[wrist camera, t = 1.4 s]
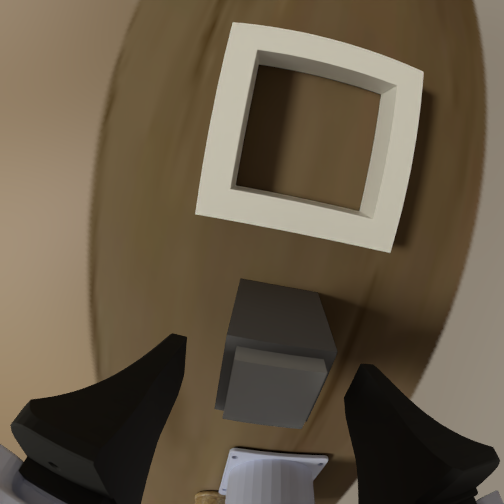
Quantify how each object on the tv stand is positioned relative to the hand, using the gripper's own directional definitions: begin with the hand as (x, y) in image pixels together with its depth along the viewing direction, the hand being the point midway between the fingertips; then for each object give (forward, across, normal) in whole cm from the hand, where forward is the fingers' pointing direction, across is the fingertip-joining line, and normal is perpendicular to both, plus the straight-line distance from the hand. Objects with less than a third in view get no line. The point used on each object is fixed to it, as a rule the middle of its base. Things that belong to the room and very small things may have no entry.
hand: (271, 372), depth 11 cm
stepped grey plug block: (+4, 0, 0) cm, 5 cm away
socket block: (+4, 0, -9) cm, 10 cm away
